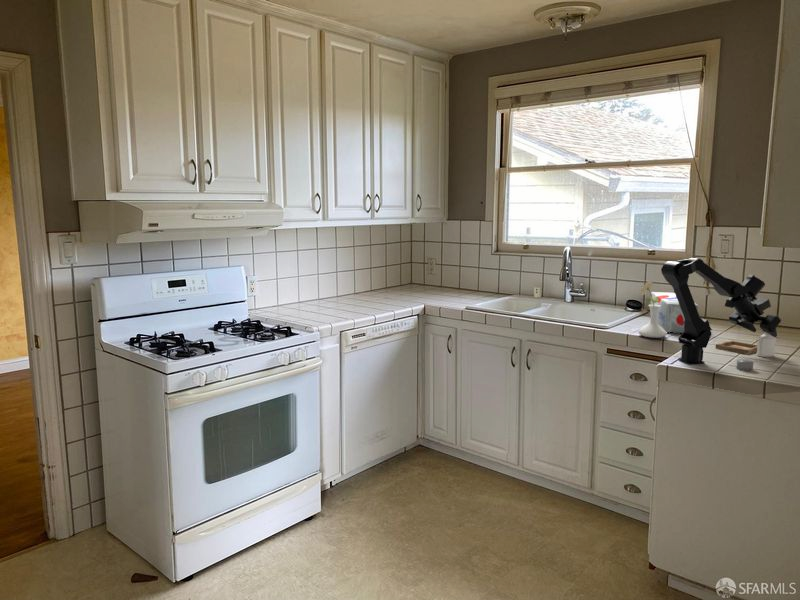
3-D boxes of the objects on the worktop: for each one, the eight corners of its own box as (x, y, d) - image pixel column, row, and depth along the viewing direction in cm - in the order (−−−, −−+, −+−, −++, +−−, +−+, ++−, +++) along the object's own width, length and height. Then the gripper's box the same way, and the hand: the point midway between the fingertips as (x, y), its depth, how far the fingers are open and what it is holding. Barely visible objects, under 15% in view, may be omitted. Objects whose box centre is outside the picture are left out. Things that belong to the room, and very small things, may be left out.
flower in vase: (652, 333, 264) (656, 277, 260) (672, 338, 254) (676, 280, 250) (629, 335, 260) (632, 278, 256) (648, 340, 249) (652, 282, 245)
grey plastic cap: (743, 371, 204) (744, 363, 203) (732, 367, 209) (733, 359, 208) (756, 371, 205) (757, 362, 204) (745, 367, 210) (746, 358, 209)
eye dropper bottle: (774, 358, 221) (777, 326, 219) (757, 356, 224) (760, 325, 222) (773, 355, 225) (776, 324, 223) (756, 354, 227) (759, 323, 225)
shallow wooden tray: (746, 354, 227) (747, 350, 226) (715, 348, 237) (715, 344, 236) (761, 350, 233) (762, 346, 233) (730, 344, 243) (731, 340, 243)
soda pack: (696, 335, 261) (699, 304, 258) (665, 334, 263) (667, 303, 261) (676, 318, 300) (678, 291, 297) (648, 317, 303) (650, 290, 300)
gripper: (779, 294, 210) (801, 322, 214) (737, 287, 227) (758, 313, 232) (759, 317, 209) (781, 345, 213) (718, 308, 227) (740, 334, 231)
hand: (765, 333), depth 223 cm, fingers open, 9 cm apart
